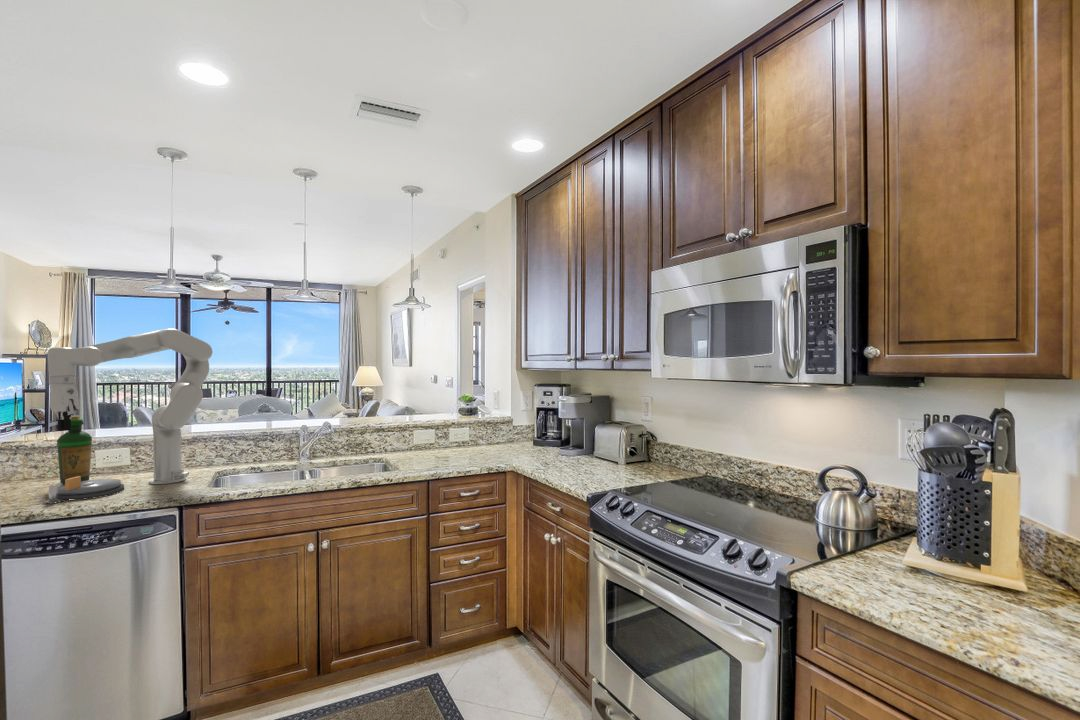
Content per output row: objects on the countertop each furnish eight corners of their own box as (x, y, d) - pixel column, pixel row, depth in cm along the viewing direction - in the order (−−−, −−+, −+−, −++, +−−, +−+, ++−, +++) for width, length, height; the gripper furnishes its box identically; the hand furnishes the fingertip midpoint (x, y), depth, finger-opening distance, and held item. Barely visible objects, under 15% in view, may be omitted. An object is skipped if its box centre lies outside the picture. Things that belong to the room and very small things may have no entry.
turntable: (86, 482, 208) (86, 468, 208) (133, 482, 208) (133, 468, 208) (39, 494, 189) (39, 479, 189) (91, 495, 189) (91, 479, 189)
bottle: (71, 489, 205) (71, 417, 205) (49, 487, 207) (49, 417, 207) (99, 482, 215) (99, 414, 215) (78, 481, 218) (78, 414, 218)
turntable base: (138, 487, 208) (138, 483, 208) (86, 501, 187) (86, 497, 187) (90, 485, 210) (90, 482, 210) (34, 499, 189) (34, 495, 189)
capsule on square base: (52, 504, 183) (52, 486, 183) (42, 504, 184) (42, 486, 184) (66, 500, 188) (66, 483, 188) (56, 500, 188) (56, 482, 188)
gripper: (86, 380, 193) (88, 429, 194) (63, 380, 199) (65, 428, 200) (61, 381, 186) (63, 432, 187) (38, 381, 192) (40, 430, 193)
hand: (64, 430), depth 193 cm, fingers closed
